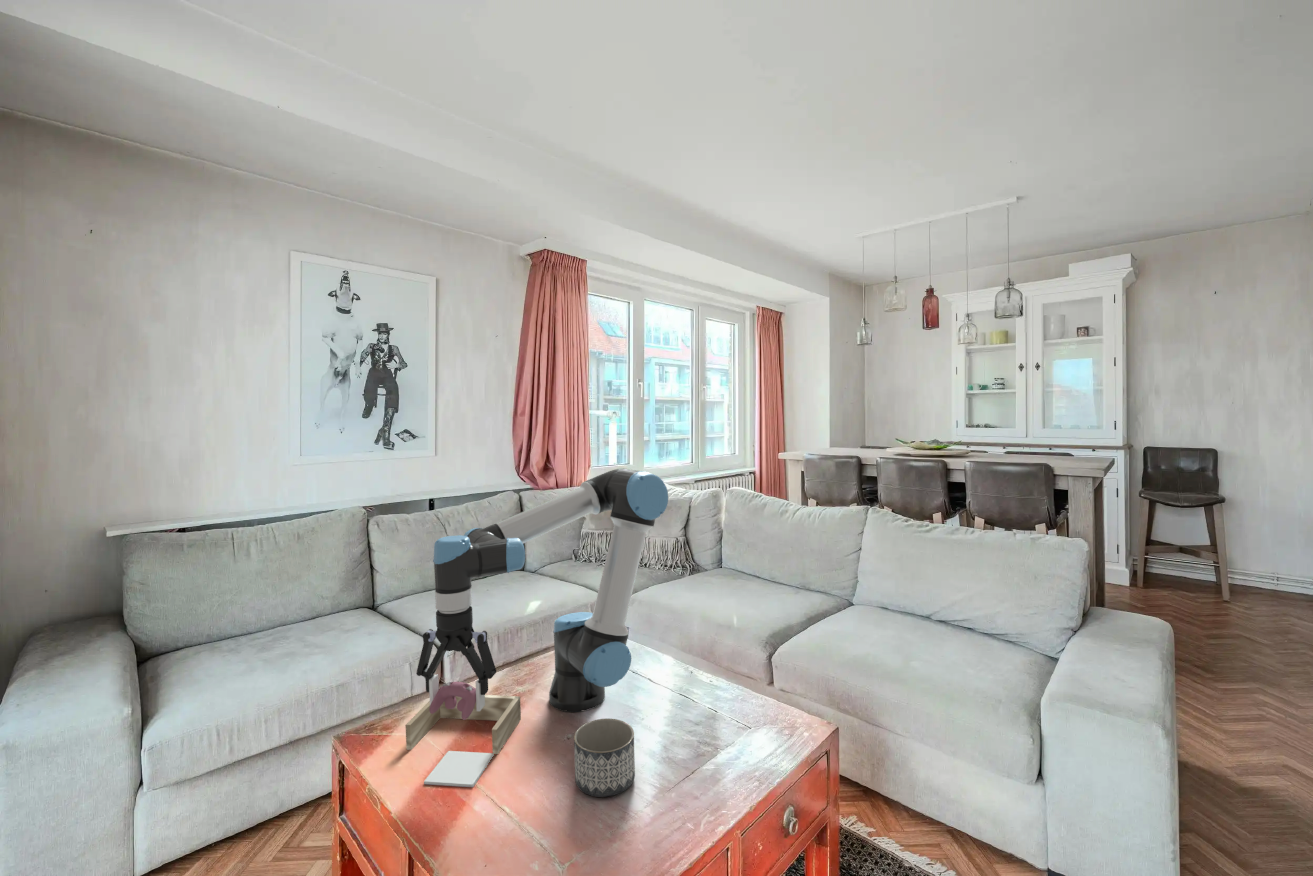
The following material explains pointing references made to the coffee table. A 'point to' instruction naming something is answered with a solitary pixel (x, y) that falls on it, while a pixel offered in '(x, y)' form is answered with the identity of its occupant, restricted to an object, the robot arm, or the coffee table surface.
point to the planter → (604, 757)
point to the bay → (495, 709)
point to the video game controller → (448, 696)
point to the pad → (459, 769)
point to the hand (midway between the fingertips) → (457, 707)
